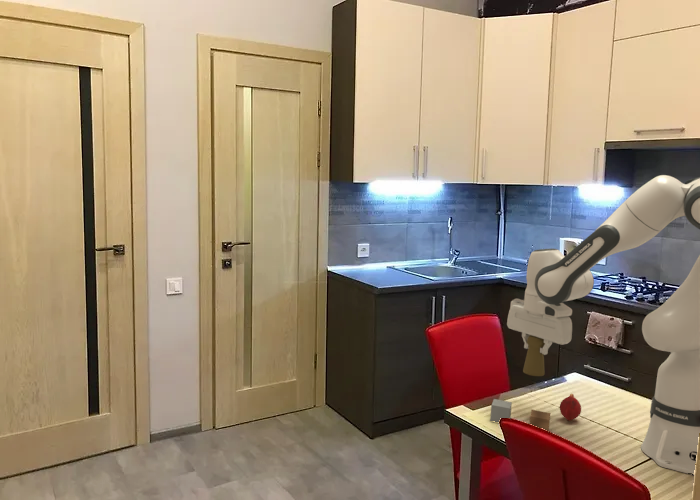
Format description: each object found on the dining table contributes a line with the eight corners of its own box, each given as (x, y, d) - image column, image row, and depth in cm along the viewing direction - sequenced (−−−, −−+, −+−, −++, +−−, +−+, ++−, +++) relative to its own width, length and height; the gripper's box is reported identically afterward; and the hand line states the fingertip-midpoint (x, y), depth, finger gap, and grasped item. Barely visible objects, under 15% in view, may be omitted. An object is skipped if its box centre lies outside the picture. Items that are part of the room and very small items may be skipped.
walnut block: (548, 430, 164) (550, 413, 164) (547, 437, 160) (549, 419, 159) (529, 426, 166) (531, 409, 165) (528, 433, 161) (530, 416, 161)
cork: (547, 376, 169) (551, 339, 168) (526, 375, 169) (529, 338, 168) (540, 369, 175) (544, 333, 174) (520, 368, 175) (523, 332, 174)
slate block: (510, 418, 171) (511, 402, 170) (508, 425, 166) (509, 408, 165) (492, 415, 172) (494, 398, 172) (489, 421, 168) (491, 404, 167)
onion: (581, 426, 168) (584, 399, 167) (560, 423, 169) (562, 396, 168) (577, 418, 174) (580, 391, 172) (557, 415, 175) (560, 389, 174)
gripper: (504, 297, 176) (500, 343, 178) (563, 313, 160) (558, 362, 161) (518, 296, 180) (514, 340, 182) (577, 311, 163) (572, 359, 165)
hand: (535, 351), depth 171 cm, fingers closed on cork, 4 cm apart
